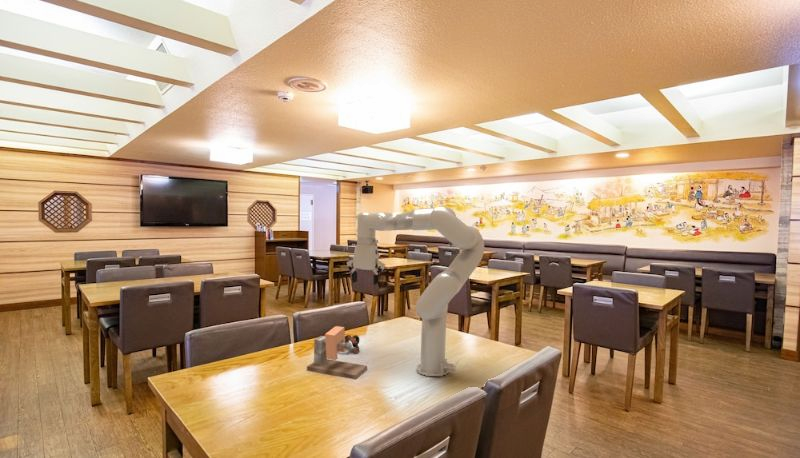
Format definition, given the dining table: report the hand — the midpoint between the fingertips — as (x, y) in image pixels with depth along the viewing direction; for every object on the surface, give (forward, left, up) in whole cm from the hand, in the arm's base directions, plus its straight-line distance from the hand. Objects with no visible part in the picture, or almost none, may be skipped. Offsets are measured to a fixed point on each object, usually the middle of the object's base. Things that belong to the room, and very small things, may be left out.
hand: (365, 283), depth 160 cm
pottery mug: (+10, -8, -33) cm, 35 cm away
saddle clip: (+6, +13, -27) cm, 30 cm away
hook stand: (+4, +14, -32) cm, 35 cm away
